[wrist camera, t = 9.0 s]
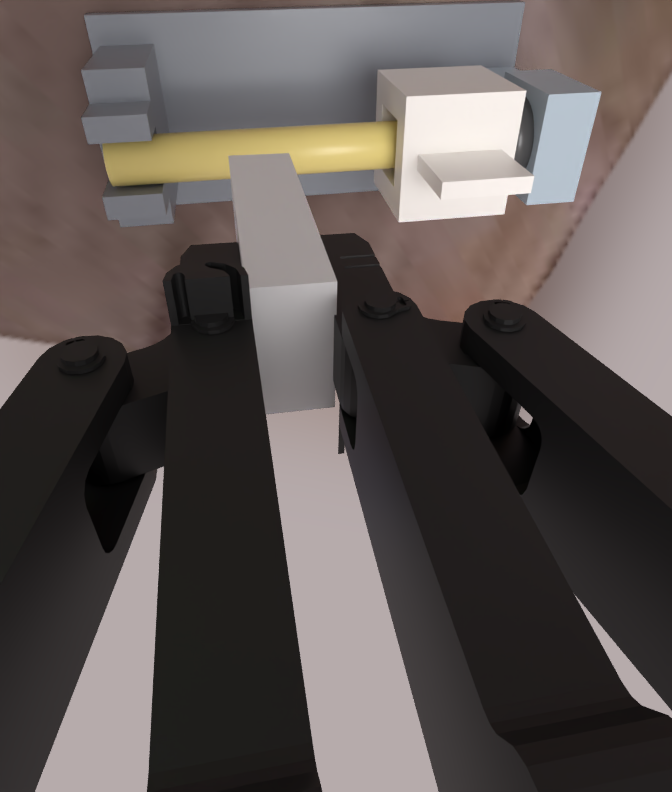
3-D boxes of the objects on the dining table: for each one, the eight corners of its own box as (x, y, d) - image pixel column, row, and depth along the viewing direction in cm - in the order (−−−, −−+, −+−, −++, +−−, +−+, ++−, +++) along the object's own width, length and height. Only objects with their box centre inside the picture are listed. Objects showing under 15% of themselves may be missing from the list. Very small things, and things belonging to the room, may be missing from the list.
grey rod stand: (130, 202, 41) (109, 285, 32) (86, 13, 34) (42, 50, 25) (490, 177, 44) (563, 246, 35) (518, 0, 37) (619, 28, 28)
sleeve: (373, 182, 36) (419, 255, 29) (377, 69, 33) (431, 119, 25) (466, 175, 37) (534, 245, 29) (481, 65, 33) (564, 112, 26)
